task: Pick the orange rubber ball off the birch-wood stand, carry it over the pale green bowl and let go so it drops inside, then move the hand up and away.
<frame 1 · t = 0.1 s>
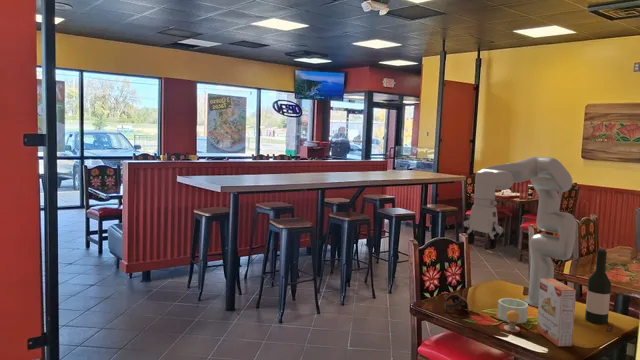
hand: (481, 246, 187), 31 cm above the table, tool pointing down, fingers open, 9 cm apart
pottery mug: (456, 311, 204), on the table
cracker box: (553, 339, 177), on the table
ball stand: (511, 329, 185), on the table
pale green bowl: (512, 318, 197), on the table
ball: (512, 316, 185), point 5 cm above the table, touching ball stand
wine bottle: (596, 321, 197), on the table
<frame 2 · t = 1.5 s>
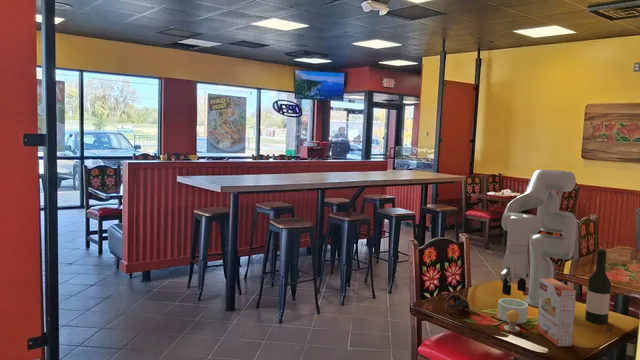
hand: (513, 292, 184), 15 cm above the table, tool pointing down, fingers open, 9 cm apart
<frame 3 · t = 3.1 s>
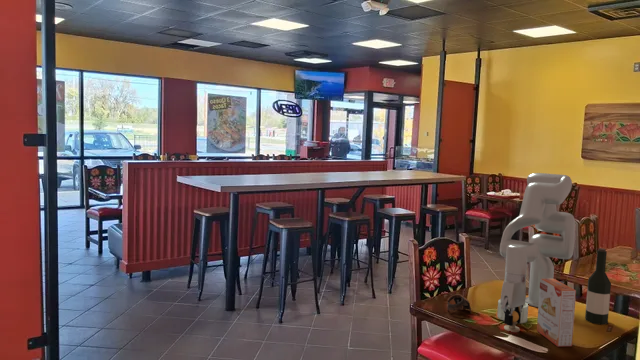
hand: (512, 322, 185), 3 cm above the table, tool pointing down, fingers closed on ball, 4 cm apart
ball: (512, 316, 185), point 5 cm above the table, touching ball stand, gripper
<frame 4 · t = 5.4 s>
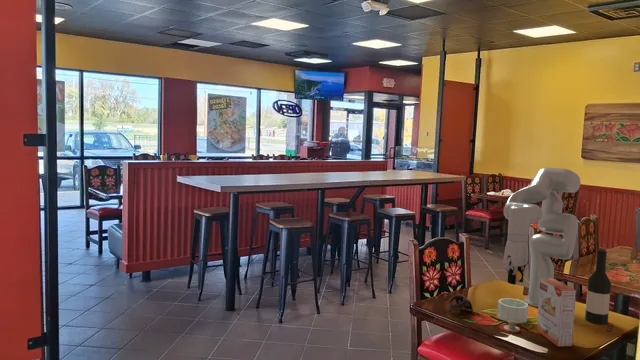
hand: (515, 282, 190), 17 cm above the table, tool pointing down, fingers closed on ball, 4 cm apart
ball: (515, 275, 190), point 19 cm above the table, touching gripper
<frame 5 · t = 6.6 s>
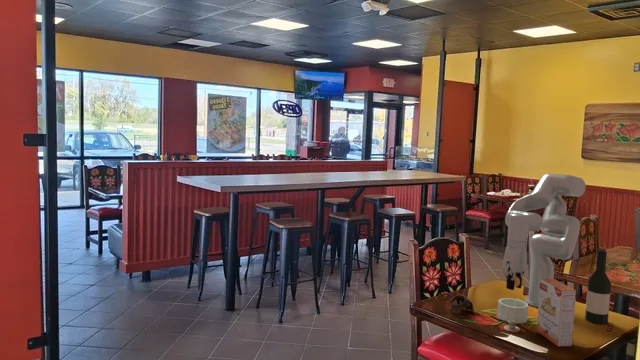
hand: (513, 287, 196), 13 cm above the table, tool pointing down, fingers closed on ball, 4 cm apart
ball: (514, 281, 196), point 15 cm above the table, touching gripper
when the fingers open (8 cm above the table, at t = 7.6 s): ball drops 7 cm, resting on pale green bowl.
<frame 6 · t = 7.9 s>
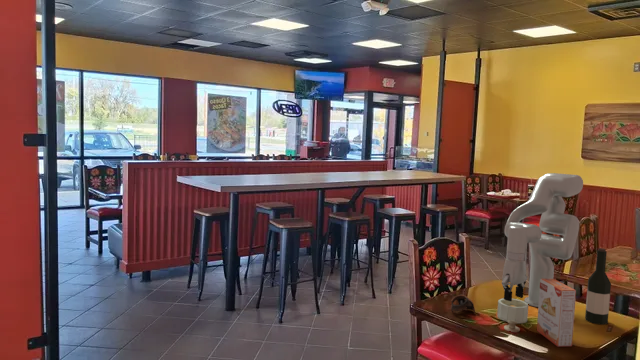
hand: (513, 298, 197), 8 cm above the table, tool pointing down, fingers open, 7 cm apart
ball: (512, 310, 197), point 3 cm above the table, touching pale green bowl
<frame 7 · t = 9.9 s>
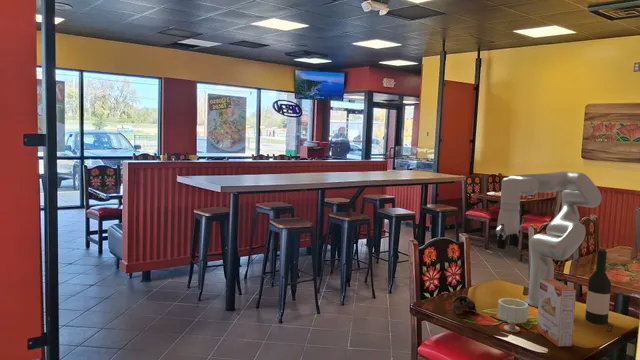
hand: (507, 247, 204), 28 cm above the table, tool pointing down, fingers open, 9 cm apart
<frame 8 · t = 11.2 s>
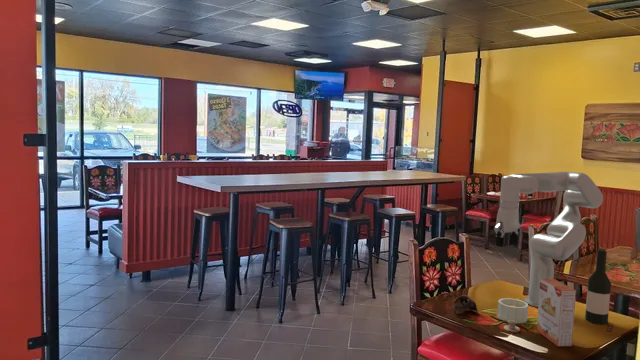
hand: (506, 245, 204), 28 cm above the table, tool pointing down, fingers open, 9 cm apart
at the end: ball inside the target area on the pale green bowl (0.1 cm from its centre), point 3.0 cm above the pale green bowl's base; the gripper is holding nothing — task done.
